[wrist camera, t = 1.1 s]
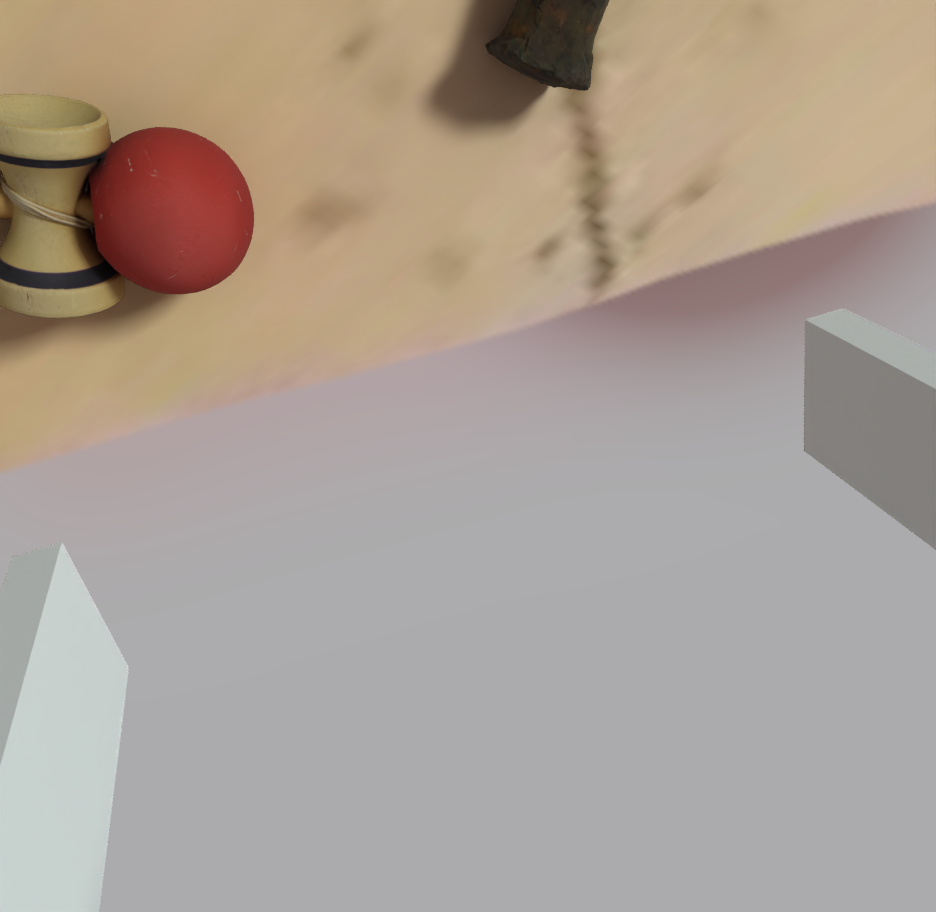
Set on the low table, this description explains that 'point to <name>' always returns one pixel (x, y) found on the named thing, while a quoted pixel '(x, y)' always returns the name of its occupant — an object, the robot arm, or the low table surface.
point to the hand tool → (551, 41)
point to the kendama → (111, 209)
